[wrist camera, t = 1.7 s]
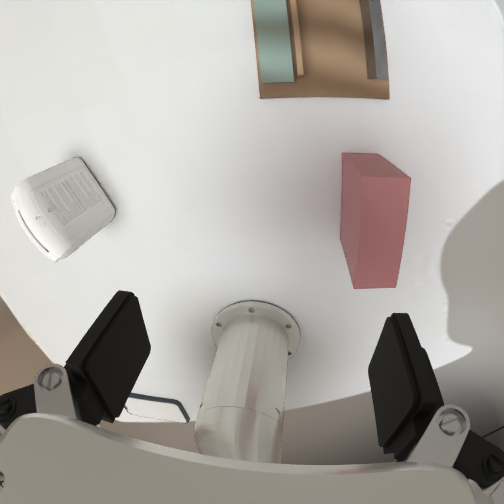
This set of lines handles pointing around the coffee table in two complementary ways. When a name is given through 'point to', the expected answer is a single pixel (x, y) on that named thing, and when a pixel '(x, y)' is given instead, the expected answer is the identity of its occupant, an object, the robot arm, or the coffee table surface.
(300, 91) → the shelf
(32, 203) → the photo printer
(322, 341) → the coffee table surface
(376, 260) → the book
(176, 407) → the phone case
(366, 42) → the bookend
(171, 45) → the coffee table surface
